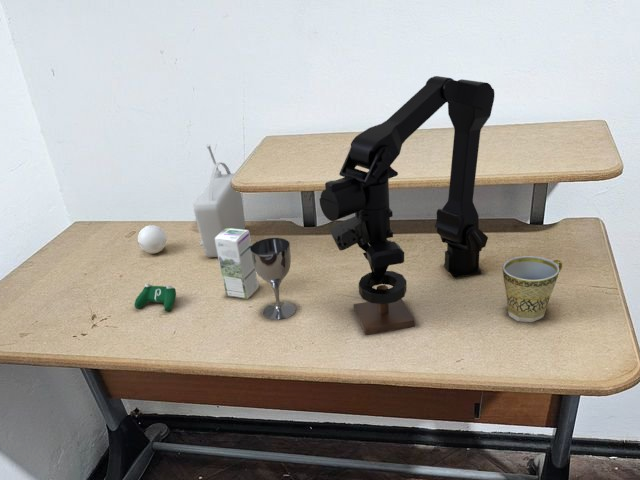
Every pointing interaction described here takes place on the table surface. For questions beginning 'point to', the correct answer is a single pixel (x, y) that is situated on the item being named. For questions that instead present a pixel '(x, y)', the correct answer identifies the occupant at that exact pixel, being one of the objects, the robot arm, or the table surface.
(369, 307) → the peg stand
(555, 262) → the ceramic cup
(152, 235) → the white light bulb
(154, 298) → the gaming controller
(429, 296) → the table surface
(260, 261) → the silver metal goblet
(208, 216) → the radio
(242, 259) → the syrup box
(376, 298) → the ring
